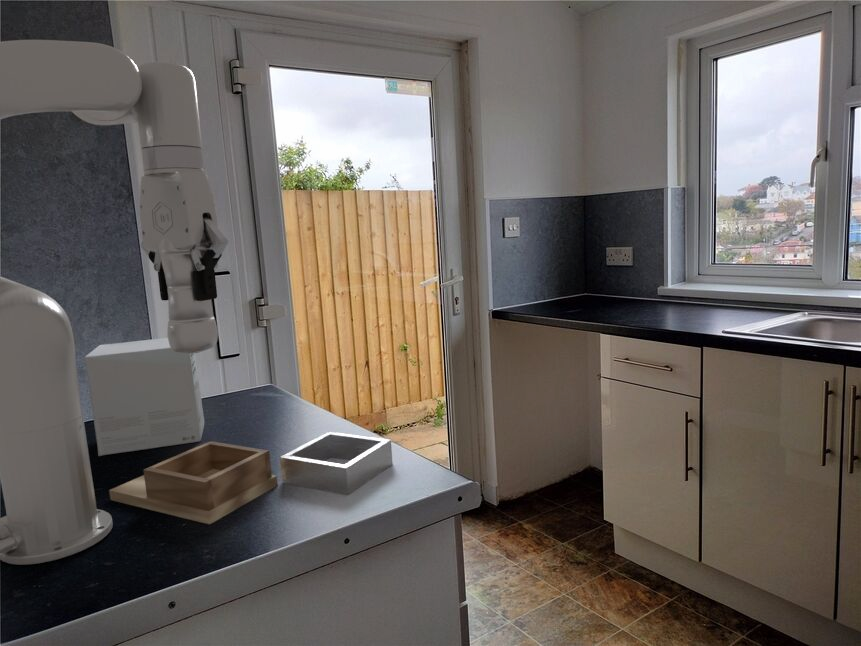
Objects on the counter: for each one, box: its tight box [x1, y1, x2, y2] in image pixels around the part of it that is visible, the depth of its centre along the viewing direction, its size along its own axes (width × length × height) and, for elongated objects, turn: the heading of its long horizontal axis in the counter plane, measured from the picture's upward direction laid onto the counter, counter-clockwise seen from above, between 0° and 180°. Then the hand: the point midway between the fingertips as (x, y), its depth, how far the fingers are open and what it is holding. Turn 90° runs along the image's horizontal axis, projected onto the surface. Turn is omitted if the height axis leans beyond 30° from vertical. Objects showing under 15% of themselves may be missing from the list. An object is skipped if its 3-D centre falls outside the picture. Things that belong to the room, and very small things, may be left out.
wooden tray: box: [108, 440, 278, 525], centre depth 91 cm, size 13×20×6 cm, turn 62°
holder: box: [279, 431, 394, 496], centre depth 95 cm, size 12×12×4 cm
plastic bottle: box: [159, 239, 219, 354], centre depth 85 cm, size 6×7×20 cm
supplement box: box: [84, 337, 205, 457], centre depth 116 cm, size 17×13×18 cm
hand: (189, 298), depth 85 cm, fingers closed on plastic bottle, 6 cm apart
